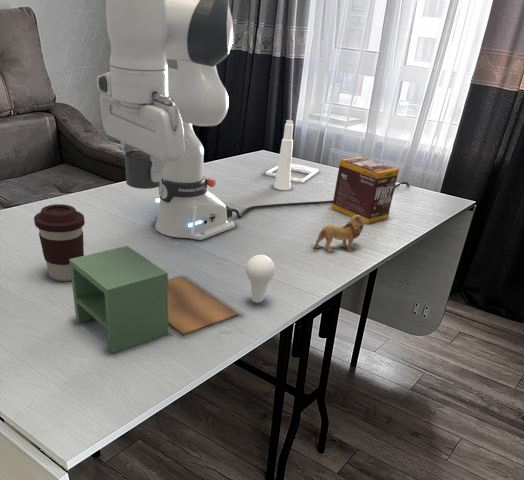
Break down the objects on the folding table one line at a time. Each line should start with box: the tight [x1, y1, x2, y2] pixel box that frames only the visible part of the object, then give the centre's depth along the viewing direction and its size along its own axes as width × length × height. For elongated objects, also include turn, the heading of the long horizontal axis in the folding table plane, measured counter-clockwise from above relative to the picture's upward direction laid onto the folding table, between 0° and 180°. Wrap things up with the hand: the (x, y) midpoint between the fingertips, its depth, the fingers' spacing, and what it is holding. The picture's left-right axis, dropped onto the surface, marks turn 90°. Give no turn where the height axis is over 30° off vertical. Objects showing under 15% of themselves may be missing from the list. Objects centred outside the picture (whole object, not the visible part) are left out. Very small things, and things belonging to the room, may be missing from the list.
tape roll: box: [124, 149, 162, 190], centre depth 93 cm, size 6×6×5 cm
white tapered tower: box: [273, 119, 294, 191], centre depth 182 cm, size 6×6×22 cm
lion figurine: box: [312, 215, 365, 253], centre depth 145 cm, size 15×5×9 cm, turn 116°
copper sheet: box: [168, 276, 239, 336], centre depth 114 cm, size 14×20×1 cm
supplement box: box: [331, 156, 400, 225], centre depth 169 cm, size 10×15×16 cm
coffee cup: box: [33, 203, 85, 282], centre depth 117 cm, size 10×10×15 cm
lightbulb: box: [245, 254, 276, 304], centre depth 115 cm, size 6×6×11 cm
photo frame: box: [265, 162, 320, 184], centre depth 204 cm, size 15×1×18 cm
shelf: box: [69, 245, 169, 354], centre depth 101 cm, size 12×14×13 cm
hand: (143, 174), depth 93 cm, fingers closed on tape roll, 6 cm apart
